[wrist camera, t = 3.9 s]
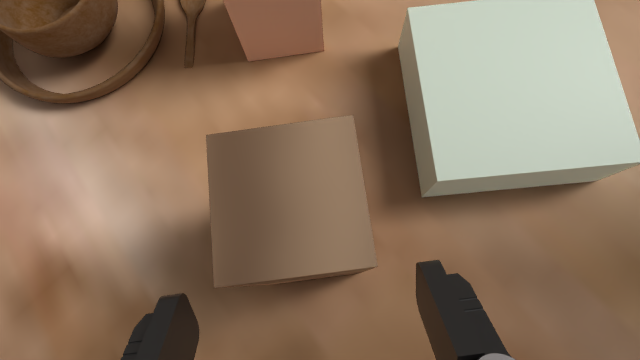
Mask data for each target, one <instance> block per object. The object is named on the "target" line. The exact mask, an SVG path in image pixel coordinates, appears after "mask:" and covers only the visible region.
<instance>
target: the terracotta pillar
mask: <svg viewBox="0 0 640 360" xmlns="http://www.w3.org/2000/svg"><path fill="white" fill-rule="evenodd" d="M223 2H224V4H225V6H226V9H227V11H228V14H229V16H230V18H231V21H232V23H233V26H234V28H235V31H236V33H237V35H238V38H239V40H240V43H241V45H242V47H243V50H244V52H245V55H246V57H247V59H248V61H255V60H263V59H270V58H277V57H284V56H291V55H298V54H306V53H313V52H320V51H324V42H323V27H322V12H321V0H223Z"/></svg>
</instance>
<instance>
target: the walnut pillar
mask: <svg viewBox="0 0 640 360" xmlns="http://www.w3.org/2000/svg"><path fill="white" fill-rule="evenodd" d="M206 143H207V163H208V182H209V202H210V221H211V241H212V260H213V280H214V288H221V287H238V286H256V285H272V284H280V283H287V282H295V281H303V280H310V279H318V278H326V277H333V276H341V275H348V274H356V273H361V272H364V271H367V270H369V269H372V268H375V267H377V266H378V265H377V259H376V253H375V247H374V240H373V234H372V228H371V222H370V216H369V210H368V203H367V197H366V191H365V185H364V179H363V173H362V166H361V160H360V154H359V148H358V142H357V136H356V129H355V123H354V117H353V115H349V116H341V117H334V118H327V119H319V120H312V121H305V122H298V123H290V124H283V125H276V126H268V127H261V128H254V129H246V130H239V131H232V132H225V133H217V134H210V135H206Z"/></svg>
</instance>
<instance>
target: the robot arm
mask: <svg viewBox="0 0 640 360" xmlns="http://www.w3.org/2000/svg"><path fill="white" fill-rule="evenodd" d="M416 299H417V305H418V309H419V312H420V315H421V318H422V321H423V324H424V326H425V329H426V332H427V335H428V338H429V341H430V343H431V346H432V349H433V352H434V355H435V357H436V360H515V359H514V358H512V357H511V356H510V355H509V354H508V352H507V351H506V349H505V347H504V345H503V344H502V342H501V340H500V338H499V336H498V334H497V333H496V331H495V329H494V327H493V325H492V323H491V322H490V320H489V318H488V316H487V314H486V312H485V311H484V310H483V307H482V305H481V303H480V301H479V300H478V299H477V296H476V294H475V292H474V290H473V289H472V287H471V285H470V283H468V282H467V281H466V280H465V279H464V278H463V277H461V276H460V275H459V274H458V273H456V274H448V275H447V274H446V272H445V270H444V268H443V266H442V264H441V262H440V261H439V260H433V261H426V262H418V263H417V264H416ZM198 341H199V325H198V322H197V319H196V317H195V315H194V312H193V310H192V307H191V305H190V303H189V300H188V298H187V296H186V295H185V294H184V293H182V294H175V295H167V296H162V297H160V299H159V300H158V303H157V305H156V308H155V310H154V313H151V314H146V315H145V316H144V317H143V318H142V320H141V321H140V322H139V323H138V324H137V325H136V327H135V328H134V330H133V332H132V335H131V337H130V339H129V342H128V345H127V346H126V348H125V351H124V353H123V357H122V358H121V360H194V357H195V353H196V349H197V345H198Z"/></svg>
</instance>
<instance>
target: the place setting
mask: <svg viewBox="0 0 640 360" xmlns="http://www.w3.org/2000/svg"><path fill="white" fill-rule="evenodd" d="M205 1H206V0H180V3H181V6H182V8H183V10H184V12H185V13H186V15H187V22H188V25H187V41H186V52H185V68H192V67H193V63H194V32H195V21H196V18H197V16H198V14H199V13H200V12H201V11H202V9H203V7H204V5H205ZM152 3H153V7H154V12H155V21H154V25H153V27H152V30H151V33H150V35H149V37H148V39H147V41H146V43H145V44H144V46H143V47H142V49H141V51H140V52H139V53H138V54H137V55H136V57H135V58H134V59H133V60H132V61H131V62H130V63H129V64H128V65H127V66H126V67H125V68H124V69H122V70H121V71H120V72H118V73H117V74H116V75H114V76H113V77H111V78H110V79H108V80H106V81H105V82H103V83H100V84H98V85H96V86H94V87H91V88H88V89H85V90H82V91H78V92H74V93H69V94H60V93H54V92H50V91H47V90H44V89H42V88H40V87H38V86H36V85H35V84H33V83H32V82H30V81H29V80H28V79H27V78H26V77H25V76H24V75H23V73H22V72H21V71H20V69H19V67H18V65H17V64H16V61H15V58H14V54H13V40H15V41H16V42H18V43H19V44H21V45H22V46H24V47H25V48H27V49H29V50H31V51H33V52H36V53H38V54H41V55H44V56H49V57H60V58H63V57H71V56H76V55H79V54H82V53H85V52H87V51H89V50H91V49H93V48H95V47H97V46H98V45H99V44H100V43H102V42H103V41H104V39H105V38H106V37H107V35H108V34H109V32H110V31H111V29H112V27H113V26H114V23H115V20H116V17H117V11H118V2H117V0H0V79H1V80H2V81H3V82H4V83H5V84H6V85H8V86H9V87H11V88H12V89H14V90H16V91H18V92H20V93H22V94H24V95H26V96H28V97H31V98H34V99H37V100H41V101H46V102H52V103H75V102H82V101H87V100H91V99H95V98H98V97H101V96H103V95H106V94H108V93H110V92H112V91H114V90H116V89H117V88H119V87H121V86H122V85H124V84H125V83H127V82H128V81H129V80H130V79H132V78H133V77H134V76H135V75H136V74H137V73H138V72H139V71H140V70H141V69H142V68H143V67H144V66H145V65H146V63H147V62H148V61H149V59H150V58H151V56H152V55H153V53H154V52H155V50H156V48H157V46H158V43H159V41H160V38H161V35H162V32H163V27H164V20H165V9H164V0H152Z"/></svg>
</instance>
